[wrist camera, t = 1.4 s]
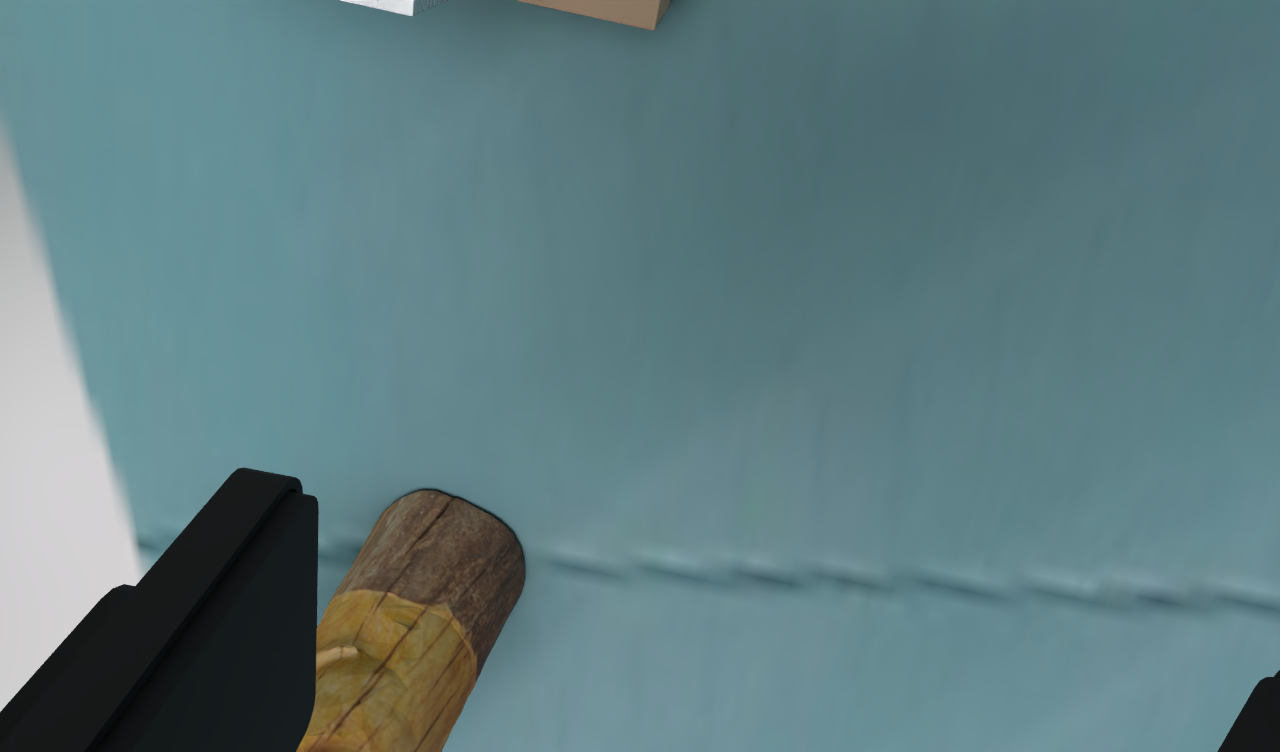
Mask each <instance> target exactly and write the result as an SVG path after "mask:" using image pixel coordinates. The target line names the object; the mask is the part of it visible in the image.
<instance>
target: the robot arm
mask: <svg viewBox="0 0 1280 752" xmlns="http://www.w3.org/2000/svg"><path fill="white" fill-rule="evenodd" d="M317 574H318V501H317V498H316V497H314V496H311V495H306V494H303V491H302V485H301V482H300V480H299V479H297V478H296V477H291V476H285V475H280V474H275V473H269V472H264V471H259V470H253V469H248V468H239V469H237V470H236V471H235V472H233V473H232V474H231V475H230V477H229V478H228V479H227V480H226V481H225V482H224V484H223V485H222V486H221V487H220V488H219V489H218V491H217V492H216V493H215V494H214V495H213V496H212V498H211V499H210V500H209V501H208V502H207V503H206V505H205V506H204V507H203V508H202V509H201V510H200V512H199V513H198V514H197V515H196V516H195V517H194V519H193V520H192V521H191V522H190V523H189V524H188V526H187V527H186V528H185V529H184V530H183V531H182V533H181V534H180V535H179V536H178V537H177V538H176V540H175V541H174V542H173V543H172V544H171V545H170V547H169V548H168V549H167V550H166V551H165V552H164V554H163V555H162V556H161V557H160V558H159V559H158V561H157V562H156V563H155V564H154V565H153V566H152V567H151V569H150V570H149V571H148V572H147V573H146V574H145V576H144V577H143V578H142V579H141V580H140V582H139V583H138V584H137V585H136V586H130V585H125V584H124V585H121V586H118V587H116V588H113V589H112V590H111V591H110V592H108V593H107V594H106V595H105V596H104V597H103V598H102V599H100V601H99V602H98V603H97V604H96V605H95V606H94V607H93V608H92V610H91V611H90V612H89V613H88V614H87V615H86V616H85V617H84V619H83V620H82V621H81V622H80V623H79V624H78V625H77V626H76V628H75V629H74V630H73V631H72V632H71V633H70V634H69V635H68V637H67V638H66V639H65V640H64V641H63V642H62V643H61V645H60V646H59V647H58V648H57V649H56V650H55V651H54V653H52V655H51V656H50V657H49V658H48V659H47V660H46V661H45V662H44V664H43V665H42V666H41V667H40V668H39V669H38V670H37V671H36V673H35V674H34V675H33V676H32V677H31V678H30V679H29V681H28V682H27V683H26V684H25V685H24V686H23V687H22V688H21V689H20V690H19V692H18V693H17V694H16V695H15V696H14V697H13V698H12V700H11V701H10V702H9V703H8V704H7V705H6V706H5V707H4V708H3V710H2V711H1V712H0V752H296V751H297V749H298V747H299V745H300V743H301V741H302V739H303V737H304V735H305V733H306V731H307V729H308V726H309V723H310V720H311V717H312V713H313V710H314V704H315V696H316V641H317ZM1218 752H1280V670H1279V671H1278V672H1277V673H1276V675H1275V676H1274V677H1266V678H1264V679H1262V680H1261V681H1259V683H1258V684H1257V685H1256V687H1255V688H1254V690H1253V692H1252V693H1251V695H1250V697H1249V698H1248V700H1247V702H1246V704H1245V705H1244V707H1243V709H1242V710H1241V712H1240V714H1239V716H1238V717H1237V719H1236V721H1235V723H1234V724H1233V726H1232V728H1231V729H1230V731H1229V733H1228V735H1227V736H1226V738H1225V740H1224V742H1223V743H1222V745H1221V747H1220V748H1219V750H1218Z"/></svg>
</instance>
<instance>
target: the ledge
mask: <svg viewBox="0 0 1280 752" xmlns="http://www.w3.org/2000/svg"><path fill="white" fill-rule="evenodd" d="M517 1H521V2H526V3H530V4H535V5H539V6H544V7H548V8H553V9H558V10H562V11H567V12H571V13H576V14H580V15H585V16H589V17H594V18H599V19H603V20H608V21H612V22H617V23H621V24H626V25H630V26H635V27H640V28H644V29H649V30H653V31H654V30H655V29H656V27H657V25H658V24H659V22H660V21H661V19H662V17H663V16H664V14H665V13H666V11H667V9H668V8H669V6H670V1H671V0H517Z"/></svg>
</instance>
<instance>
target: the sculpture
mask: <svg viewBox="0 0 1280 752" xmlns="http://www.w3.org/2000/svg"><path fill="white" fill-rule="evenodd" d="M524 580H525V572H524V559H523V554H522V551H521V547H520V545H519V543H518V542H517V540H516V538H515V536H514V535H513V533H512V532H511V531H510V530H509V529H508V528H507V527H506V526H505V525H504V524H503V523H501V522H499V521H498V520H497V519H496V518H494V517H493V516H492V515H490V514H488V513H486V512H484V511H482V510H480V509H478V508H477V507H475V506H473V505H471V504H469V503H468V502H465V501H463V500H460V499H458V498H452V497H450V496H447V495H445V494H443V493H440V492H437V491H418V492H415V493H412V494H409V495H407V496H405V497H402V498H401V499H399V500H398V501H396V502H394V503H393V504H392V505H391V506H390V507H389V508H387V509H386V510H385V511H384V512H383V513H382V515H381V517H380V518H379V519H378V520H377V522H376V523H375V525H374V527H373V529H372V531H371V533H370V535H369V536H368V538H367V540H366V542H365V544H364V545H363V547H362V549H361V550H360V552H359V554H358V555H357V557H356V559H355V561H354V562H353V564H352V566H351V568H350V569H349V571H348V573H347V574H346V576H345V577H344V579H343V580H342V582H341V583H340V585H339V586H338V588H337V590H336V592H335V594H334V595H333V597H332V599H331V601H330V603H329V605H328V606H327V608H326V610H325V612H324V615H323V618H322V620H321V622H320V624H319V626H318V627H317V641H316V696H315V704H314V710H313V713H312V717H311V720H310V723H309V726H308V729H307V731H306V733H305V735H304V737H303V739H302V741H301V743H300V745H299V747H298V749H297V751H296V752H441V751H442V749H443V747H444V745H445V743H446V741H447V739H448V737H449V734H450V732H451V730H452V728H453V726H454V725H455V723H456V721H457V719H458V717H459V716H460V714H461V712H462V710H463V707H464V705H465V703H466V700H467V698H468V696H469V695H470V693H471V691H472V689H473V687H474V685H475V683H476V681H477V679H478V677H479V675H480V672H481V670H482V668H483V666H484V663H485V661H486V659H487V657H488V655H489V653H490V651H491V649H492V647H493V646H494V644H495V642H496V640H497V638H498V636H499V634H500V632H501V630H502V628H503V626H504V624H505V622H506V620H507V618H508V616H509V615H510V613H511V611H512V610H513V608H514V606H515V605H516V603H517V601H518V599H519V597H520V595H521V593H522V589H523V585H524Z"/></svg>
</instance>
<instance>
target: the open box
mask: <svg viewBox="0 0 1280 752" xmlns="http://www.w3.org/2000/svg"><path fill="white" fill-rule="evenodd" d="M341 1H345V2H350V3H354V4H359V5H364V6H368V7H373V8H377V9H382V10H386V11H391V12H395V13H400V14H404V15H409V16H414V15H416V14H419V13H421V12H423V11H425V10H427V9H430V8H432V7H434V6H436V5H438V4H441V3H443V2H445V1H447V0H341Z"/></svg>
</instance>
